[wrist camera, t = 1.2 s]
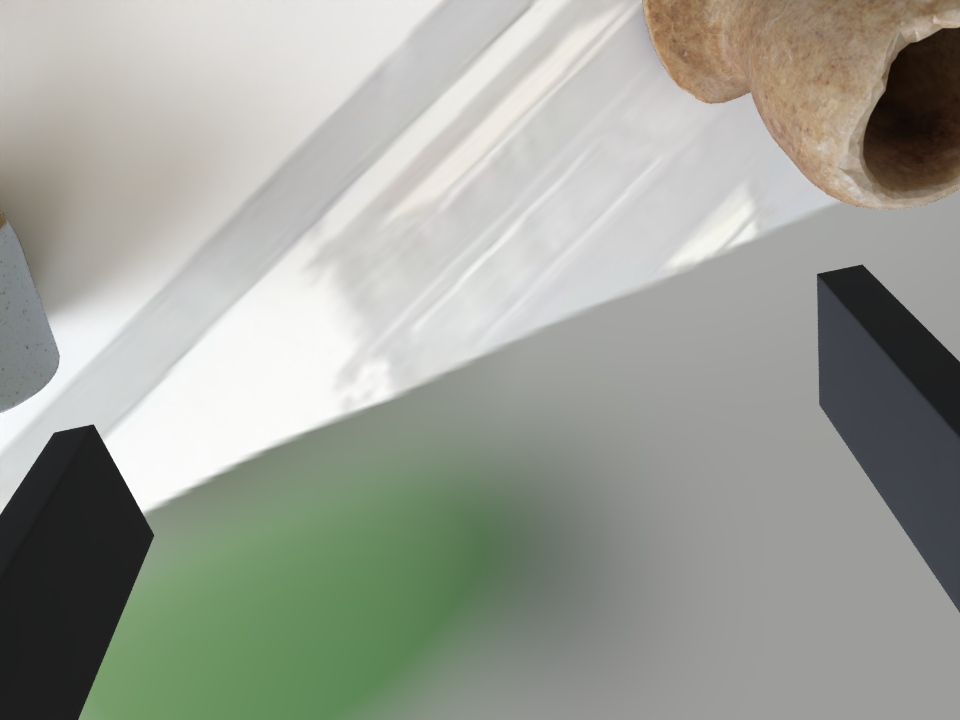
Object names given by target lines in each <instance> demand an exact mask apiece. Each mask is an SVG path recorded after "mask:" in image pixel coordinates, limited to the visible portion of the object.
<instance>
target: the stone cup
mask: <svg viewBox="0 0 960 720" xmlns="http://www.w3.org/2000/svg"><path fill="white" fill-rule="evenodd" d="M642 2H643V10H644V16H645V20H646V25H647V29H648V32H649V36H650V39H651V41H652V44H653V46H654V48H655V50H656V52H657V54H658V56H659V58H660V60H661V62H662V64H663V66H664V67H665V69H666V70H667V72H668V73H669V75H670V76H671V78H672V79H673V80H674V82H675V83H676V84H677V85H678V86H679V87H680V88H681V89H683V90H685V91H686V92H688V93H690V94H692V95H694V96H695V97H696V99H698V100H700V101H702V102H705V103H724V102H727V101H730V100H732V99H735V98H738V97H740V96H742V95H745V94H747V93H749V92H751V94H752V96H753V99H754V102H755V105H756V107H757V110H758V112H759V114H760V116H761V118H762V120H763V122H764V124H765V125H766V127H767V129H768V131H769V132H770V134H771V136H772V137H773V139H774V140H775V141H776V142H777V144H778V145H779V146H780V147H781V148H782V150H783V151H784V152H785V153H786V154H787V155H788V157H789V158H790V159H791V160H792V161H793V162H794V164H795V165H796V166H797V167H798V169H799V170H800V171H801V172H802V173H803V174H804V175H805V176H806V177H807V178H808V180H809V181H810V182H811V183H813V184H814V185H815V186H817V187H818V188H820V189H821V190H822V191H824V192H825V193H826V194H828V195H830V196H832V197H834V198H836V199H838V200H840V201H842V202H845V203H848V204H851V205H855V206H857V207H863V208H870V209H906V208H911V207H915V206H922V205H926V204H929V203H932V202H934V201H937V200H939V199H942V198H945V197H947V196H948V195H950V194H952V193H953V192H955V191H957V190H958V189H960V0H642Z"/></svg>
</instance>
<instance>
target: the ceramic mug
mask: <svg viewBox="0 0 960 720" xmlns="http://www.w3.org/2000/svg"><path fill="white" fill-rule="evenodd" d="M59 357H60V355H59V352H58V349H57V346H56V343H55V340H54V337H53V334H52V331H51V329H50V326H49V323H48V320H47V318H46V315H45V312H44V309H43V306H42V303H41V300H40V298H39V295H38V293H37V290H36V287H35V285H34V282H33V280H32V277H31V275H30V272H29V269H28V265H27V262H26V259H25V256H24V252H23V249H22V247H21V244H20V242H19V240H18V238H17V235H16V233H15V232H14V230H13V228H12V227H11V225H10V223H9V222H8V220H7V218H6V217H5V215H4V214H3V213H2V212H1V211H0V413H2V412H4V411H7V410H9V409H11V408H13V407H15V406H17V405H19V404H21V403H22V402H24V401H25V400H27V399H28V398H30V397H32V396H33V395H35V394H36V393H38V392H39V391H40V390H41V389H42V388H44V387H45V386H46V385H47V384H48V383H49V381H50V380H51V379H52V377H53V376H54V375H55V373H56V371H57V369H58V365H59Z"/></svg>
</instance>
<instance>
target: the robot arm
mask: <svg viewBox="0 0 960 720" xmlns="http://www.w3.org/2000/svg"><path fill="white" fill-rule="evenodd" d="M817 291H818V293H817V295H818V348H819V349H818V351H819V403H820V406H821V408H822V409H823V410H824V412H825V414H826V415H827V417H828V418H829V419H830V421H831V422H832V424H833V425H834V427H835V428H836V430H837V431H838V433H839V434H840V436H841V437H842V439H843V440H844V442H845V443H846V445H847V446H848V448H849V449H850V451H851V452H852V454H853V455H854V456H855V458H856V459H857V461H858V462H859V464H860V465H861V467H862V468H863V470H864V471H865V473H866V474H867V476H868V477H869V479H870V480H871V482H872V483H873V484H874V486H875V487H876V489H877V491H878V492H879V493H880V495H881V496H882V498H883V499H884V501H885V502H886V504H887V505H888V507H889V508H890V510H891V511H892V513H893V514H894V516H895V517H896V519H897V520H898V521H899V523H900V524H901V526H902V527H903V529H904V531H905V532H906V534H907V535H908V536H909V538H910V539H911V541H912V542H913V544H914V545H915V547H916V548H917V550H918V551H919V553H920V554H921V556H922V557H923V559H924V560H925V562H926V563H927V565H928V566H929V568H930V569H931V571H932V572H933V573H934V575H935V576H936V578H937V579H938V581H939V582H940V583H941V585H942V587H943V588H944V590H945V591H946V593H947V594H948V596H949V597H950V599H951V600H952V602H953V603H954V605H955V606H956V608H957V609H958V610H959V612H960V362H959V361H958V360H957V359H956V358H955V357H954V356H953V355H952V354H951V353H950V352H949V351H948V350H947V349H946V348H945V347H944V346H943V345H942V344H941V343H940V342H939V341H938V340H937V339H936V338H935V337H934V336H933V335H932V334H931V333H930V332H929V331H928V330H927V329H926V328H925V327H924V326H923V325H922V324H921V323H920V322H919V321H918V320H917V319H916V318H915V317H914V316H913V315H912V314H911V313H910V312H909V311H908V310H907V309H906V308H905V307H904V306H903V305H902V304H901V303H900V302H899V301H898V300H897V299H896V298H895V297H894V296H893V295H892V294H891V293H890V292H889V291H888V290H887V289H886V288H885V287H884V286H883V285H882V284H881V283H880V282H879V281H878V280H877V279H876V278H875V277H874V276H873V275H872V274H871V273H870V272H869V271H868V270H867V269H866V268H865V267H864V266H863V265H858V266H853V267H849V268H844V269H839V270H834V271H829V272H824V273H820V274H817ZM153 537H154V534H153V532H152V530H151V529H150V527H149V525H148V523H147V521H146V519H145V517H144V516H143V514H142V512H141V510H140V508H139V506H138V505H137V503H136V501H135V499H134V497H133V496H132V494H131V492H130V490H129V488H128V486H127V485H126V483H125V481H124V479H123V477H122V475H121V474H120V472H119V470H118V468H117V466H116V464H115V463H114V461H113V459H112V457H111V455H110V453H109V452H108V450H107V448H106V446H105V444H104V442H103V441H102V439H101V437H100V435H99V433H98V431H97V430H96V428H95V426H94V424H93V425H89V426H84V427H79V428H74V429H69V430H64V431H60V432H55V433H54V434H53V435H52V437H51V438H50V440H49V441H48V443H47V444H46V446H45V447H44V449H43V451H42V452H41V454H40V455H39V457H38V458H37V460H36V461H35V463H34V464H33V466H32V467H31V469H30V470H29V472H28V473H27V475H26V476H25V478H24V480H23V481H22V483H21V484H20V486H19V487H18V489H17V490H16V492H15V493H14V495H13V496H12V498H11V499H10V501H9V502H8V504H7V505H6V507H5V508H4V510H3V512H2V513H1V515H0V720H78V719H79V716H80V714H81V711H82V709H83V706H84V704H85V702H86V699H87V697H88V694H89V692H90V690H91V687H92V685H93V682H94V680H95V677H96V675H97V673H98V670H99V667H100V665H101V663H102V660H103V658H104V656H105V653H106V651H107V648H108V646H109V643H110V641H111V639H112V636H113V634H114V632H115V629H116V627H117V624H118V622H119V619H120V617H121V615H122V612H123V610H124V607H125V605H126V603H127V600H128V597H129V595H130V593H131V590H132V588H133V585H134V583H135V580H136V578H137V576H138V573H139V571H140V568H141V566H142V564H143V561H144V559H145V556H146V554H147V552H148V549H149V547H150V544H151V542H152V540H153Z"/></svg>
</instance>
